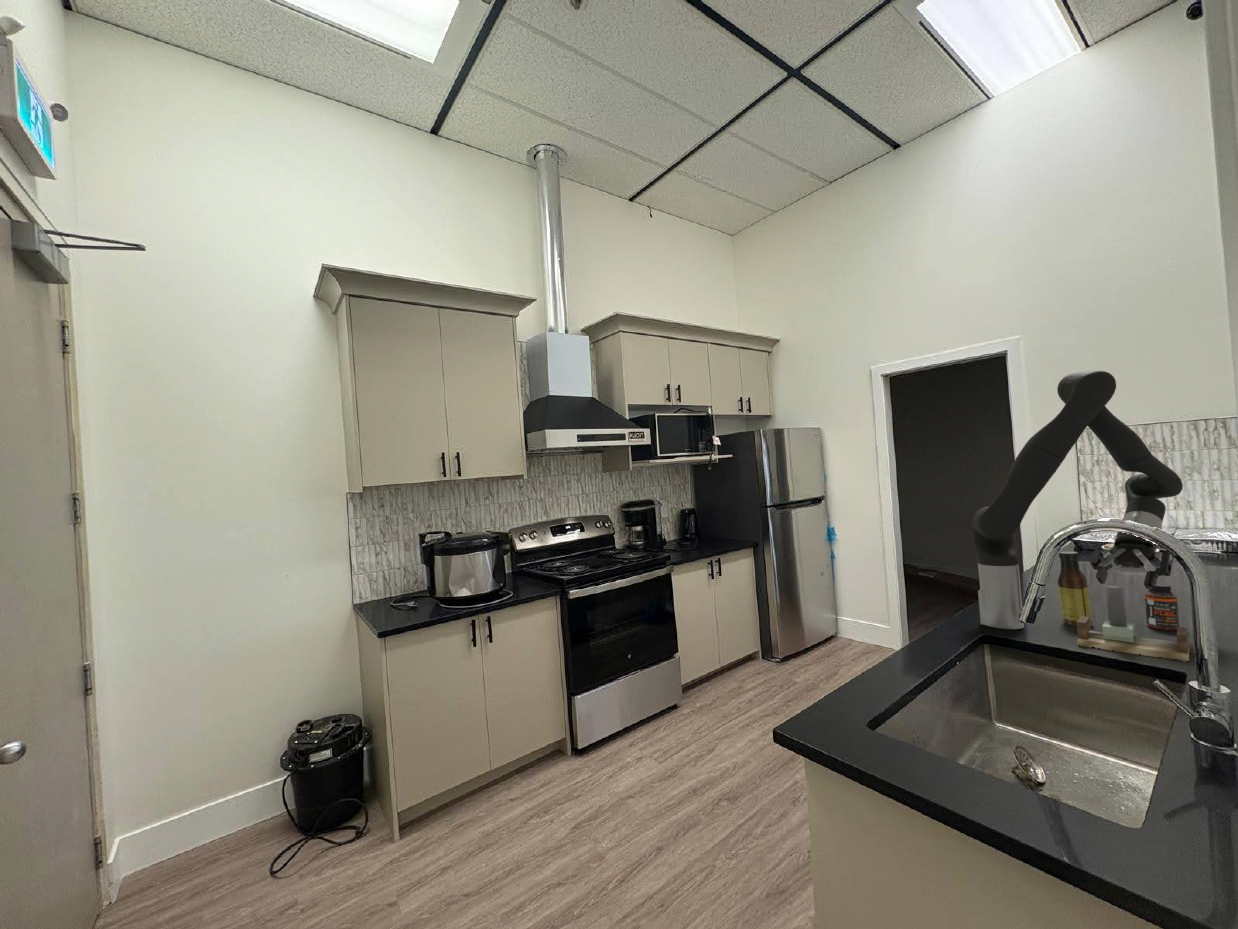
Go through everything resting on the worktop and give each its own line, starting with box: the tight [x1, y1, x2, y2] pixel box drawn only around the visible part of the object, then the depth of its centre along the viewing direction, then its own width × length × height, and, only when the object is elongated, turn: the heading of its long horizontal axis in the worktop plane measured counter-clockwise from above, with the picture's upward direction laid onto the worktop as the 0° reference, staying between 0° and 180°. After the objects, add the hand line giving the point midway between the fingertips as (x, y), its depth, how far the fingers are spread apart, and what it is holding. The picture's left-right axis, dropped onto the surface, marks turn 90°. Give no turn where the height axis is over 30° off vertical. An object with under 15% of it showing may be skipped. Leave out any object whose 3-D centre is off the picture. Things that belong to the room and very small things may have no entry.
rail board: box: [1076, 616, 1191, 662], centre depth 120 cm, size 18×9×6 cm, turn 41°
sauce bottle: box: [1057, 550, 1093, 627], centre depth 141 cm, size 7×6×20 cm
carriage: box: [1101, 585, 1136, 643], centre depth 122 cm, size 5×6×12 cm
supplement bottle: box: [1144, 582, 1181, 631], centre depth 134 cm, size 6×6×11 cm
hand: (1123, 584), depth 125 cm, fingers open, 8 cm apart
